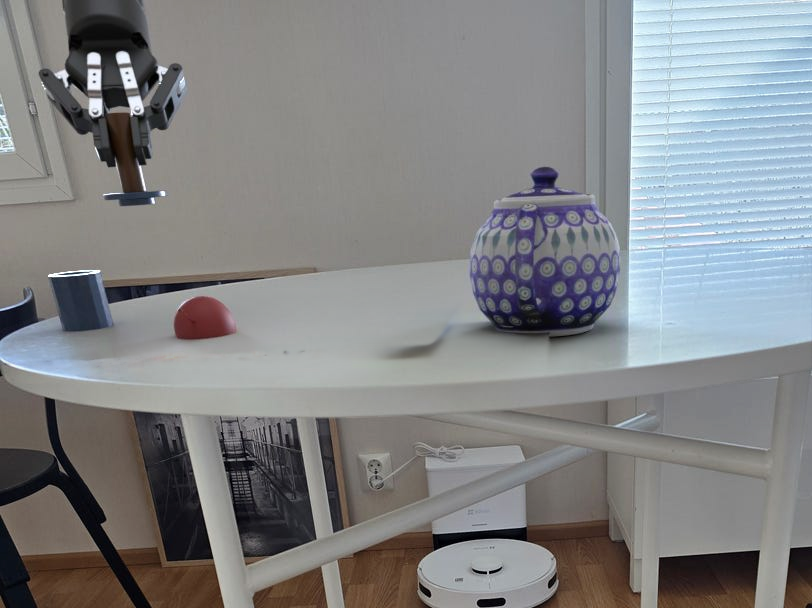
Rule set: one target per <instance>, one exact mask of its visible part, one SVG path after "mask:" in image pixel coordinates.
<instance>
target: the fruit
mask: <svg viewBox="0 0 812 608" xmlns="http://www.w3.org/2000/svg"><path fill="white" fill-rule="evenodd" d="M173 329H174V333H175V334H174V335H175V337H176V339H178V340H187V341H188V340H206V339H215V338H221V337H225V336H231V335H233V334H235V333H237V325H236V321H235V319H234V316H233V314H232V312H231V311H230V309H229V308H228V307H227V306H226V305H225V304H224V303H223V302H222V301H220V300H218V299H216V298H215V297H211V296H207V295H197V296H196V295H195V296H193V297H189V298H188V299H186V300H184V301H183V302H182V303H181V304H180V305H179V307H178V308H177V310H176V312H175V315H174V319H173Z"/></svg>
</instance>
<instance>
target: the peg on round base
mask: <svg viewBox="0 0 812 608" xmlns="http://www.w3.org/2000/svg"><path fill="white" fill-rule="evenodd" d="M105 117H106V121H107V125H108V129H109V134H110V138H111V142H112V147H113V151H114V155H115V162H116V170H117V173H118V177H119V181H120V186H121V190H122V192H117V193H104V194H103V200H104V201H117V202H118V206H119V207H134V206H148V205H156V204H157V202H156V198H161V197H162V198H163V197H168V192H167V190H164V189H163V190H147V186H146V180H145V176H144V171H143V167H142V165H140V166H139V163H138V160H137V157H136V154H135V150H134V145H133V137H132V130H131V123H130V117H132V115H131V112H127V111H126V112H123V111H122V112H121V111H120V112H111V113H107V114H105Z"/></svg>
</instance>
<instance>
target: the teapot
mask: <svg viewBox="0 0 812 608" xmlns="http://www.w3.org/2000/svg"><path fill="white" fill-rule="evenodd" d="M529 175H530V177H531V180H532V181H533V186H532V187H531V188H526V189H525V188H524V189H523V190H520V191H518V192H514V193H511V194H510V195H507V196H505V197H503V198H502V199H496V200H494V202H493V209H492V211H491V212H490V216H488V217H487V218H486V220H485V222H484V223H483V224H482V226H480V227H479V229H478V231H476V234H475V237H474V239H473V242H472V245H471V248H470V252H469V253H470V254H469V278H470V285H471V291H472V295H473V296H474V300H475V302H476V304H477V306H478V309H479V311H480V312H481V313H482V314H483V315H484V317H486V319H487V320H489V322H490V323H491V324H492V326H494V328H495V329H496V330H497V331H499V332H500V331H501V332H504V333H505V332H506V333H516V334H517V333H518V334H546V333H548V334H549V335H548V337H563V336H571V335H579V334H583V333H584V332H588V331H591V330H592V329H593V328H594V325H595V323H596V322H597V321H598V320H599V319H600V318H601V317H602V316H603V315H604V314H605V312H606V311H607V310H608V309H609V308H610V306H611V305H612V303H613V300H614V298H615V296H616V293H617V289H618V285H619V279H620V273H621V249H620V243H619V239H618V236H617V233H616V231H615V228H614V227H613V225H612V224H611V222H610V221H609V219H608V218H607V217H606V216H605V215H604V214H603V213H601V211H600V210H599V209H598V206H597V205H596V196H595V194H590V193H582V192H578V191H575V190H570V189H567V188H562V187H558V186H556V182H557V180H558V178H559V176H560V173H559V172H558V171H557V170H556V169H554V168H553V167H551V166H541V167H537V168H535V169H534V170H533V171H532V172H531V173H530V174H529Z"/></svg>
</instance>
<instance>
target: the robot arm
mask: <svg viewBox="0 0 812 608" xmlns="http://www.w3.org/2000/svg"><path fill="white" fill-rule="evenodd" d="M144 1H145V0H61V3H62V4H61V5H62V13H63V14H64V20H65V29H66V39H67V47H68V56H67V58H66V59H65V61H64V69H61V70H59V71H56V72H54V73H53V71H52V70H51V69H49V68H42V69H39V71H38V77H39V79H40V81H41V84H42V87H43V89H44V92H45V94H46V97H47V99H48V100H49V102H50V103H51V104H52V105H53V106H54V107H55V108H56V109H57V111H58V113H60V114H61V116H62V117H63V119H65V120H66V121H67V123H68V124H69V125H70V126H71V128H72V129H73V130H74V131H75V133H77V134H78V135H80V136H84V135H87V134H89V133H92V138H93V139H92V140H93V146H94V148H95V151H96V154H97V157H98V159H99V161H100V162H101V163H102V162H103V163H104V162H105V163H106V166H107V168H117V165H116V160H115V155H114V151H113V147H112V142H111V138H110V134H109V129H108V125H107V121H106V117H105V114H107V113H112V109H115V108H118V107H123V108H129V109H130V114H131V117H130V123H131V130H132V137H133V145H134V150H135V154H136V157H137V160H138V163H139V166H140V165H141V166H147V165H148V162H147V161H148V160H151V159H152V158H153V155H154V153H153V146H152V139H151V132H152V131H153V130H155V129H157V130H159V131H166V130H167V129H168V128H169V127H170V125H171V123H172V121H173V120H174V117H175V116H176V114H177V112H178V110H179V108H180V106H181V104H182V102H183V100H184V99H185V97H186V94H187V93H188V88H187V83H186V81H185V80H186V79H185V75H184V70H183V66H182V65H181V64H180V63H177V62H175V63H174V62H173V63H171V64H170V65H168V67H165V66H163V65H160V64H159V62H158V60H157V58H156V57H155V56H154V55H153V53H152V46H151V39H150V32H149V26H148V18H147V12H146V5H145V2H144ZM158 83H159V85H158ZM156 85H158V86H157V88H156V89H155V92H154V93H153V96H152V97H151V99H150V101H149V105H146V106H144V104H143V102H144V101H145V99H146V98H147V97H148V95H149V94H150V93H151V91H152V90H153V89H154V88H155V87H156ZM71 86H73V87H75V89H77V90H78V91H80V92H81V93H82V94H83V95H84V96H85V97H86V98H87V99H88V108H85V107H82V105H81V104H80V103H79V101H78V100H77V99H76V97H74V96H73V95H72V89H71Z"/></svg>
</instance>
